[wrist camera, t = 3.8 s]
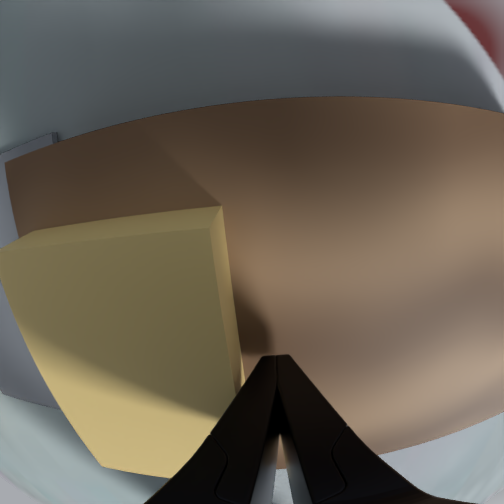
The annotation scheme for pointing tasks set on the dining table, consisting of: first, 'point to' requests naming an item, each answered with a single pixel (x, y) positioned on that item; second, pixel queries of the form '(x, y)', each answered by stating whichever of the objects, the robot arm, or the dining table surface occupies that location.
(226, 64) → the dining table surface
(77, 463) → the dining table surface
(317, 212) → the brown wooden flat block
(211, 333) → the yellow rectangular block
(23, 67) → the dining table surface
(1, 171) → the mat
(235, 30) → the dining table surface
